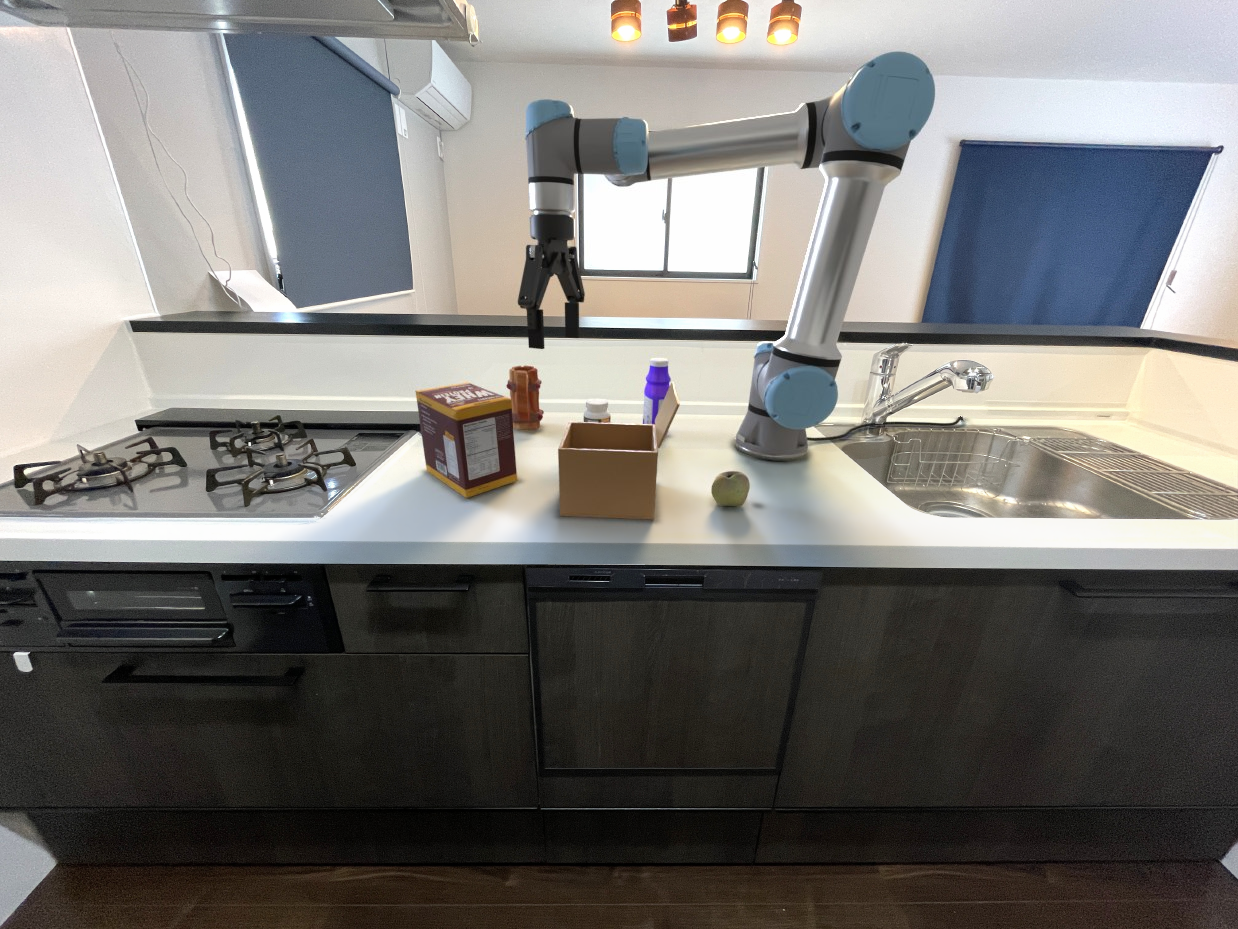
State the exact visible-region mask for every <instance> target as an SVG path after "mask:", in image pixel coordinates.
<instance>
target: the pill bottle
mask: <svg viewBox="0 0 1238 929" xmlns="http://www.w3.org/2000/svg"><path fill="white" fill-rule="evenodd" d="M585 407H586V410H585V411H584V413H583V422H594V423H611V418H612V416H611V412H610V411H609V410H608V408H609V401H608V400H607V399H605V398H589V399H587V400H586V401H585Z"/></svg>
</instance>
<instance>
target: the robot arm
mask: <svg viewBox="0 0 1238 929" xmlns="http://www.w3.org/2000/svg"><path fill="white" fill-rule="evenodd" d="M935 99H936V84H935V80H934V76H933V74H932V73H931V70H930V69H929V67H928V65H927V64H926V63H925V61H923V59H921V58H920V57H919V56H917V55H915V54H913V53H910V52H906V51H898V50H897V51H889V52H886V53H883V54H880V55H878V56H876V57H874V58H873V59H871V60H870V61H867V62H866V63H863V65H861V66H860V67H859V68H858V69H857V70H856V71H855V72H854V73H853V74H852V75H851V77H850V78H849V79H848V81H847V82H846V83H845V84H844V86H842V87H841V88H840V89H839V90H838V91H837V92H835V93H834V94H831V95H829V96H827V97H825V98H823V99H819V100H815V101H810V102H809V101H808V102H803V103H801V104H800V105H799V107H798V108H796V110H795V111H791V112H783V113H776V114H768V115H761V116H755V117H747V118H740V119H731V120H725V121H717V122H711V123H703V124H696V125H690V126H683V127H675V128H667V129H660V130H654V131H653V130H652V131H649V125H648V123H647V121H645V119H642V118H629V117H628V116H623V117H613V118H612V117H611V118H607V117H605V118H578V117H575V115H574V109H573V106H572V105H571V104H570V103H568V102H566V101H563V100H558V99H556V100H554V99H549V98H548V99H547V98H546V99H545V98H543V99H537V100H533V101H531V102H530V103H529V104H528V105H527V106H526V110H525V137H524V139H525V146H526V148H525V149H526V163H527V165H526V166H527V179H528V180H527V183H528V193H527V197H528V202H529V205H528V208H529V211H531V212H532V213H533V214H531V215H530V217H529V235H530V238H531V239H532V240H534V241H535V240H536V241H537V243H536V244H526V246H525V262H524V267H523V272H522V277H521V280H520V281H521V282H520V287H519V290H518V291H519V292H518V297H517V305H518V306H519V308H520V309H524V310H526V327H527V339H528V348H529V349H534V350H535V349H537V350H544V349H545V326H544V325H545V324H544V309H542V308H541V306H542V303H543V300H544V297H545V294H546V291H547V288H548V286H549V283H550V280H551V278H552V277H554V276H556V277H557V280H558V282H559V285H560V287H561V289H562V291H563V294H564V296H565V299H566V301H565V302H564V331H565V332H564V338H571V339H572V338H573V339H579V338H580V303H584V302H585V297H586V293H585V288H584V284H583V280H582V274H581V270H580V265H579V260H578V248H577V247H576V246H575V245H574V246H573V245H572V246H571V245H569V244H568V241H574V239H575V238H576V236H575V233H576V232H575V230H576V229H575V218H574V216H572V214H573V213H574V212H575V211H576V210H575V181H574V180H575V175H603V176H604V177H605V178H606V180H607V181H608V182H609V183H611V184H612V185H614V186H616V187H619V188H626V187H630V186H632V185H635V184H637V183H646V182H650V181H651V182H652V181H659V180H666V179H674V178H683V177H693V176H700V175H708V174H709V175H710V174H716V173H717V174H718V173H725V172H733V171H742V170H751V169H760V168H767V167H776V166H784V165H793V167H795V168H796V170H805V169H817V168H819V171H820V172H821V174H822V175H823V177H824V179H825V183H824V187H823V192H822V195H821V199H820V203H819V206H818V210H817V214H816V217H815V222H814V226H813V229H812V233H811V236H810V240H809V243H808V248H807V252H806V255H805V259H804V262H803V265H802V266H803V267H802V270H801V274H800V278H799V281H798V285H797V289H796V293H795V296H794V300H793V304H792V308H791V311H790V315H789V319H788V323H787V327H786V331H785V334H784V335H783V336H782V337H781V338H780V339H778V340H776V341H764V340H763V341H760V342H758V344H757V345H756V348H755V352H754V355H753V359H754V361H753V368H752V376H751V382H750V388H749V389H750V390H749V398H748V405H747V411H746V414H745V416H744V417H743V419H742V422H741V424H740V426H739V428H738V430H737V431H736V436H735V439H734V446H735V448H736V449H737V450H738V451H740V452H741V453H743V454H744V455H747V456H750V457H753V458H756V459H761V460H766V461H774V462H791V461H797V460H800V459H802V458H803V459H804V457H806V455H807V453H808V448H809V442H810V441H811V442H823V441H825V442H826V441H833V440H839V439H843V438H845V437H847V436H849V434H851V433H852V432H854V431H856V430H859V429H862V428H867V427H873V426H886V425H890V426H891V425H904V426H906V425H907V426H908V425H910V426H934V427H935V426H936V427H952V426H955V425H957V424H959V422H960V421H963V420H964V417H963V416H962V417H961V416H960V417H958V416H957V418H956V419H955V421H952V422H930V421H929V422H927V421H883V422H884V423H883V424H875V423H874V422H868V423H863V424H858V425H856V426H854V427H851V428H850V429H848V430H846V432H844V433H842V434H839V435H834V436H824V437H809V436H808V435H807V429H810V428H813V427H815V426H817V425H819V424H820V423H823V422H824V421H825V420H827V418H829V416H831V414H832V413H833V412H834V410H835V408H836V406H837V403H838V399H839V390H838V385H837V382H836V377H837V375H838V371H839V369H840V365H841V362H842V358H843V355H842V353H841V351H840V349H839V348H838V346H837V343H838V339H839V336H840V333H841V330H842V327H843V323H844V320H845V318H846V314H847V311H848V308H849V304H850V301H851V297H852V295H853V292H854V288H855V285H856V282H857V279H858V275H859V272H860V269H861V266H862V263H863V259H864V256H865V252H866V249H867V247H868V244H869V240H870V236H871V234H872V230H873V227H874V225H875V220H876V217H877V215H878V210H879V207H880V204H881V202H882V199H883V195H884V191H885V188H886V187H887V186H888V184H890V183H892V181H894V180H895V179H897V178H898V177H899V176H901V172H902V170H903V166H904V164H905V161H906V157H907V154H908V151H909V148H910V144H911V142H912V140H914V139H915V138H916V137H917V136H918V135H919V134H920V132H921V131H922V129H923V128H924V127H925V125H927V124H926V123H927V122H928V120H929V119H930V116H931V114H932V112H933V108H934V104H935Z"/></svg>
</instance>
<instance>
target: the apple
mask: <svg viewBox="0 0 1238 929" xmlns="http://www.w3.org/2000/svg"><path fill="white" fill-rule="evenodd" d="M750 488H751V483H750V479H749V478H748V476H747V475H746V474H745V473H744V472H742V471H738V470H737V471H736V470H727V471H724V472H721V473H719V474H718V475H717V476H716V477H715V479H714V480H713V482H712V484H711V492H710V493H711V496H712V498H713V500H714V502H716V504H717V505H718V506H721V507H734V508H735V507H737V508H739V507H741V506H743V505H744V504H745V502H746V500H747V498H748V496H749V493H750Z"/></svg>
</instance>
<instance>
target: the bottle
mask: <svg viewBox="0 0 1238 929" xmlns="http://www.w3.org/2000/svg"><path fill="white" fill-rule="evenodd" d="M645 381H646V383H645V386H644V390H643V393H644V394H643V412H642V424H651V425H655V419H656V416H657V414H658V412H659V410H660V407H661V405H662V403H663V401H664V398H665V396H666V394H667V392H668V389H669V387H670V385H671V384H670V383H671V381H672V378H671V376H670V373H669V359H668V358H666V357H651V358H649V369H648V373H647V375H646V376H645ZM668 433H669V431H668V432H667V434H666V436H667V435H668Z"/></svg>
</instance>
